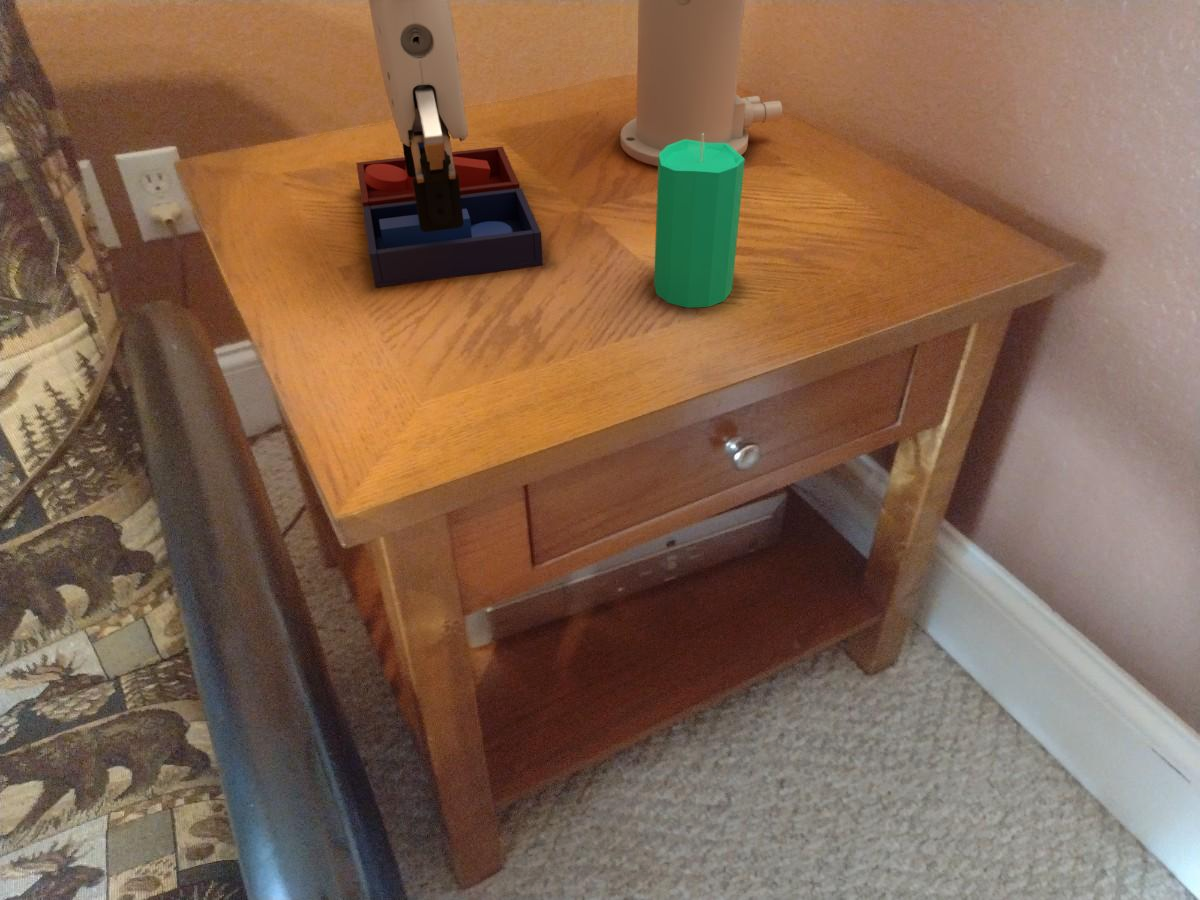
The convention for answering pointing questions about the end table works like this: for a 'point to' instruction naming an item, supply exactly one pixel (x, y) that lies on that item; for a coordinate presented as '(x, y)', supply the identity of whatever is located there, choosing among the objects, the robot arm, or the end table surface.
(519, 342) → the end table surface
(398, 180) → the red spoon
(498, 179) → the maroon bin
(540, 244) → the navy bin
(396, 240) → the blue spoon
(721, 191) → the candle
